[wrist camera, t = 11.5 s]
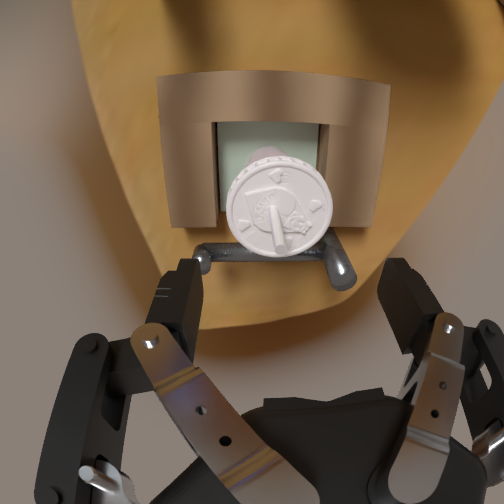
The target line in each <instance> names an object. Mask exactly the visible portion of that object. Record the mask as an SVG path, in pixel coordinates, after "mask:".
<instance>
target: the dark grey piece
mask: <svg viewBox="0 0 504 504" xmlns="http://www.w3.org/2000/svg"><path fill="white" fill-rule="evenodd" d="M192 259H199V261H200V268H201V275H205V274H207V273H208V272H209V271H210V268H211V262H283V261H323V262H324V265H325V267H326V270H327V273H328V276H329V278H330V281H331V284H332V287H333V288H334V289H335V290H338V291H345V290H348V289H350V288H352V287H353V286H354V285H355V283H356V281H357V275H356V273H355V271H354V269H353V267H352V265H351V263H350V261H349V259H348V257H347V255H346V253H345V251H344V249H343V247H342V245H341V243H340V241H339V239H338V237H337V235H336V233H335V231H334V229H333V227H328V228H327V230H326V232H325V233H324V235H323V236H322V237H321V238H320V240H319V241H318V242H317V243H315V244H314V245H313V246H312V247H310V248H309V249H307V250H305V251H303V252H301V253H299V254H296V255H292V256H288V257H267V256H263V255H259V254H257V253H254V252H252V251H250V250H248V249H247V248H246V247H244V246H243V245H242V244H241V243H240V242H234V243H203V244H201V245H198V246H196V247H195V249H194V252H193V256H192Z"/></svg>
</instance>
